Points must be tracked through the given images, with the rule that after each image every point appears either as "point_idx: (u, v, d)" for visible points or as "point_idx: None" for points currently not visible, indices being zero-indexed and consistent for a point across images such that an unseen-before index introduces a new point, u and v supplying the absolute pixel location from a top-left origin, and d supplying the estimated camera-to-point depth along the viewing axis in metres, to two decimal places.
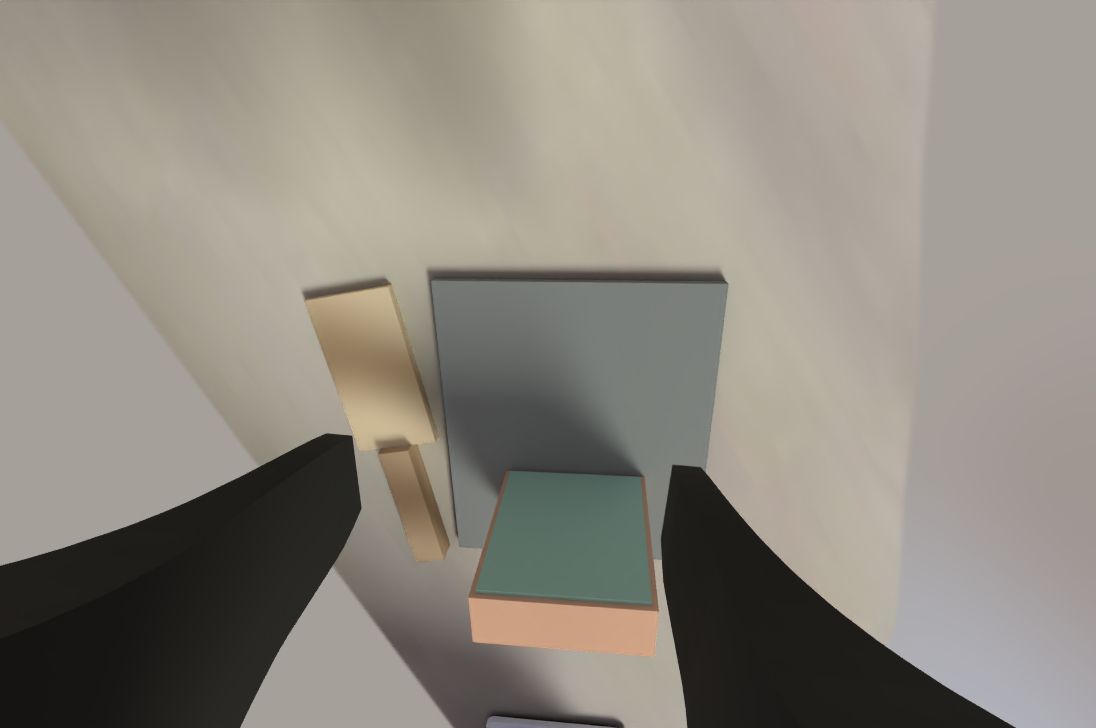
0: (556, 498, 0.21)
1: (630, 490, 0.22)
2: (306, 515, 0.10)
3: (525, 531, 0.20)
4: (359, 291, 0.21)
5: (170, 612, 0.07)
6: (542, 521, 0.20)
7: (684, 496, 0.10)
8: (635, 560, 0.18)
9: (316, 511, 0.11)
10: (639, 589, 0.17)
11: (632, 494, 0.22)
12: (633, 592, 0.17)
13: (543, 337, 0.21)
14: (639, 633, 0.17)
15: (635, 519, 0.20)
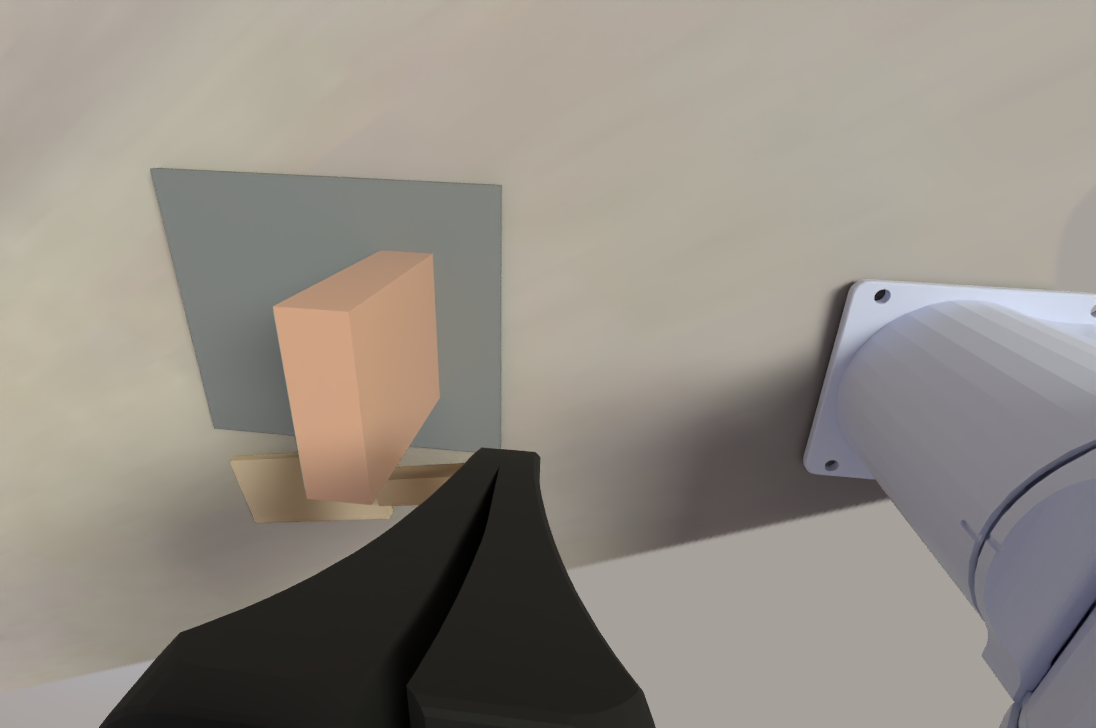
0: None
1: None
2: None
3: None
4: (239, 482, 0.25)
5: (426, 644, 0.07)
6: None
7: None
8: None
9: None
10: None
11: None
12: None
13: (242, 343, 0.22)
14: (313, 329, 0.14)
15: None
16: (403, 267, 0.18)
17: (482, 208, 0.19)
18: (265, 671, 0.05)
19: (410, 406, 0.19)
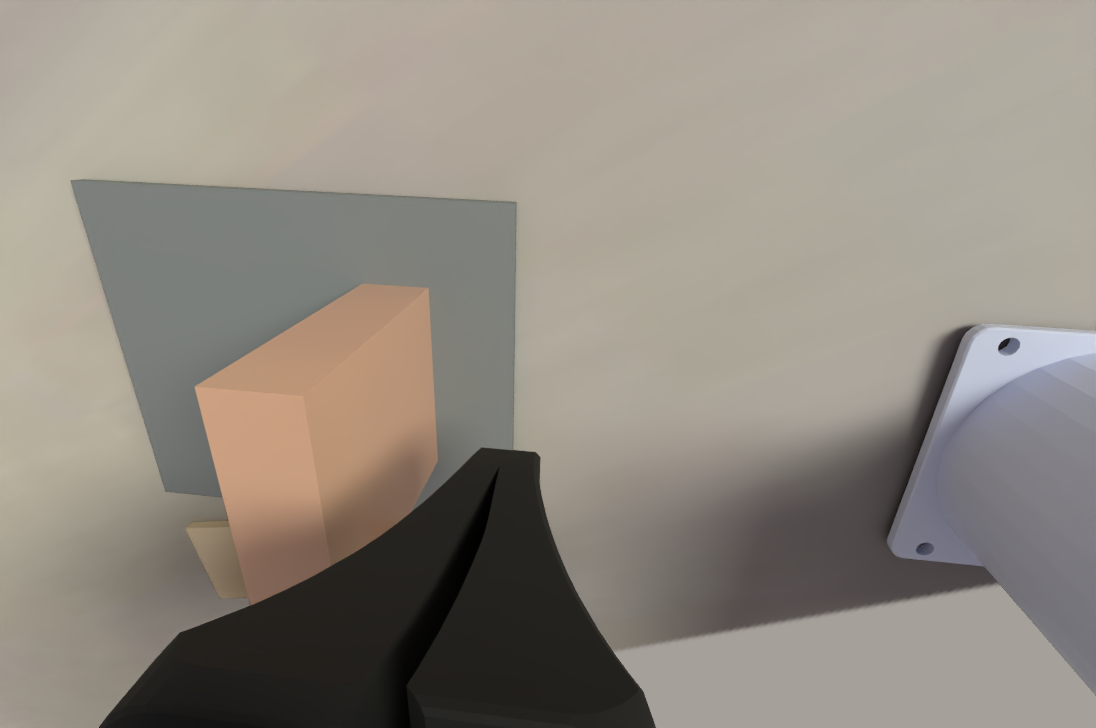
0: None
1: None
2: None
3: None
4: (199, 551, 0.21)
5: (425, 644, 0.07)
6: None
7: None
8: None
9: None
10: None
11: None
12: None
13: (194, 394, 0.18)
14: (254, 418, 0.10)
15: None
16: (389, 311, 0.14)
17: (492, 232, 0.15)
18: (263, 671, 0.05)
19: (398, 488, 0.14)
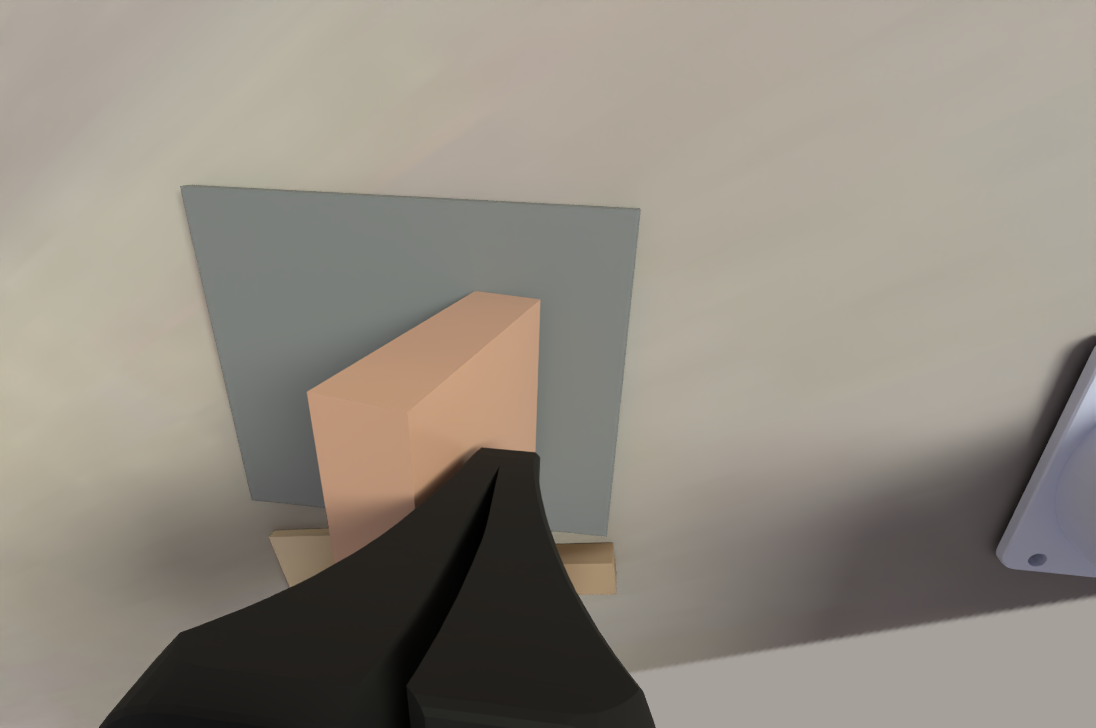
0: None
1: None
2: None
3: None
4: (280, 560, 0.21)
5: (425, 644, 0.07)
6: None
7: (497, 478, 0.10)
8: None
9: None
10: None
11: None
12: None
13: (291, 402, 0.18)
14: (359, 428, 0.09)
15: None
16: (499, 322, 0.13)
17: (614, 239, 0.14)
18: (263, 671, 0.05)
19: None
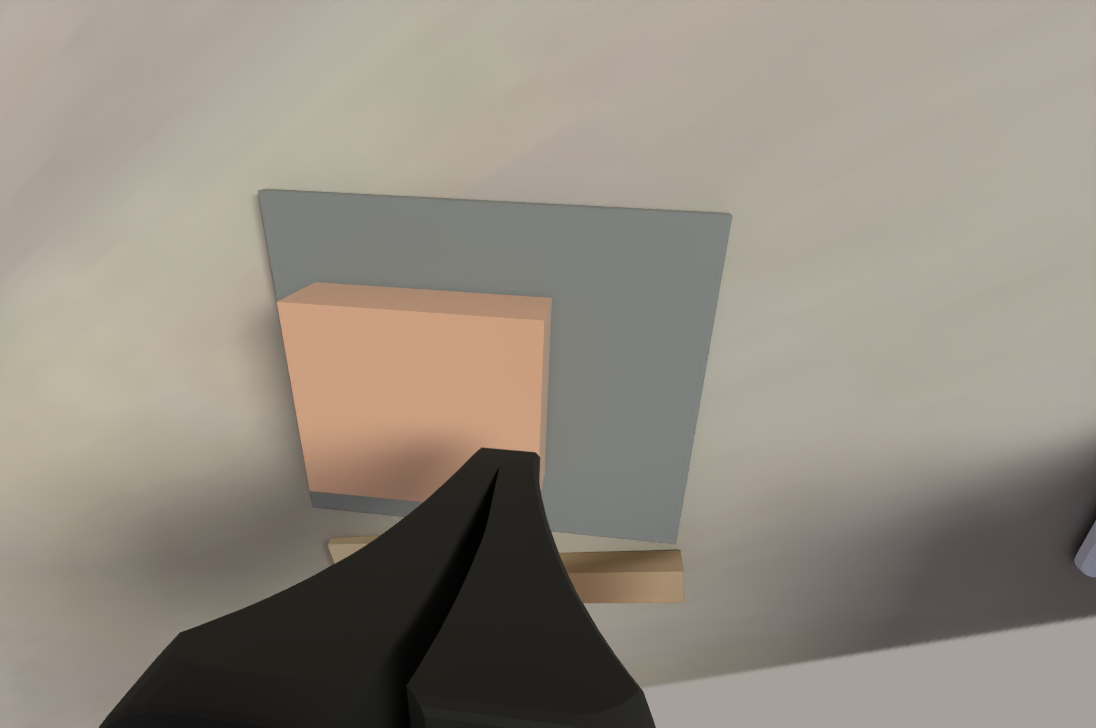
0: None
1: None
2: None
3: None
4: None
5: (425, 644, 0.07)
6: None
7: None
8: None
9: None
10: None
11: None
12: None
13: None
14: None
15: None
16: (457, 310, 0.14)
17: (703, 244, 0.14)
18: (264, 669, 0.05)
19: (422, 463, 0.15)
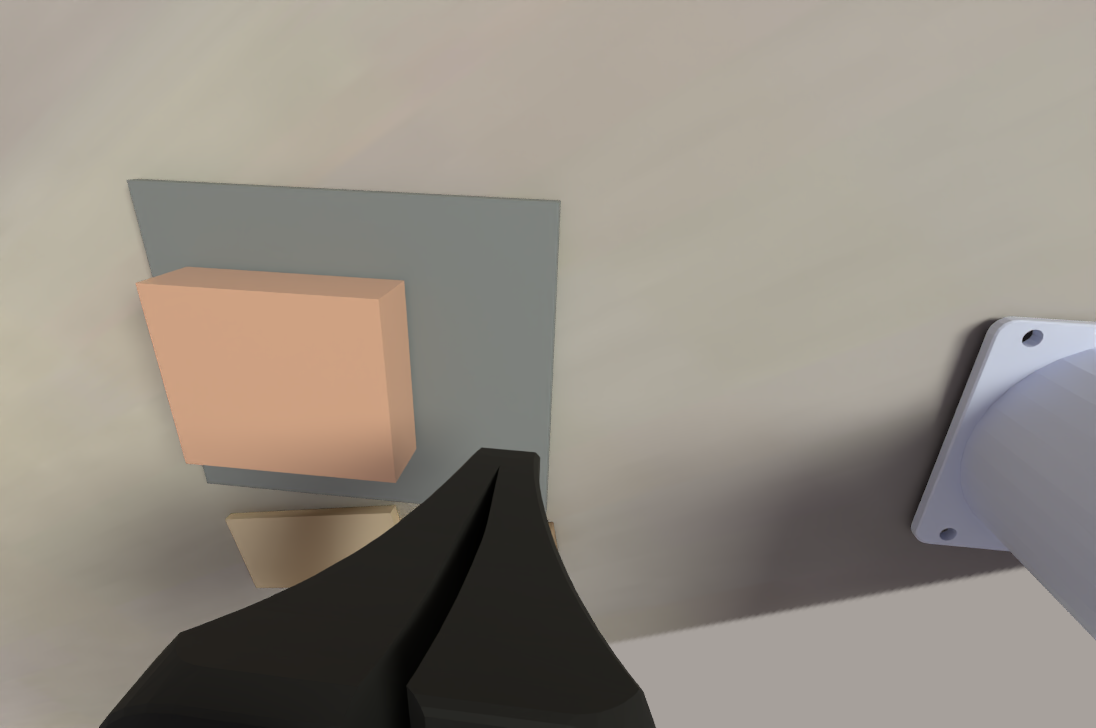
0: None
1: None
2: (485, 533, 0.10)
3: None
4: (237, 542, 0.22)
5: (425, 644, 0.07)
6: None
7: None
8: None
9: None
10: None
11: None
12: None
13: None
14: None
15: None
16: (302, 291, 0.15)
17: (537, 229, 0.15)
18: (264, 671, 0.05)
19: (285, 436, 0.17)
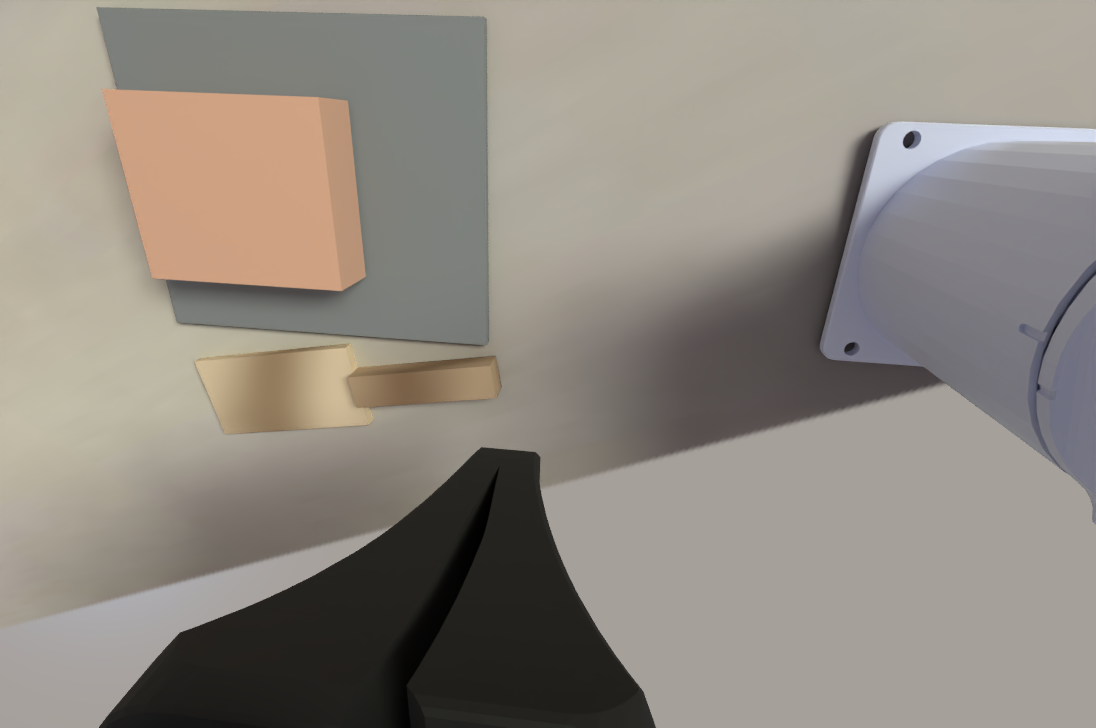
0: None
1: None
2: (485, 533, 0.10)
3: None
4: (206, 386, 0.23)
5: (426, 644, 0.07)
6: None
7: None
8: None
9: None
10: None
11: None
12: None
13: None
14: None
15: None
16: (251, 95, 0.16)
17: (465, 45, 0.17)
18: (265, 671, 0.05)
19: (240, 245, 0.18)
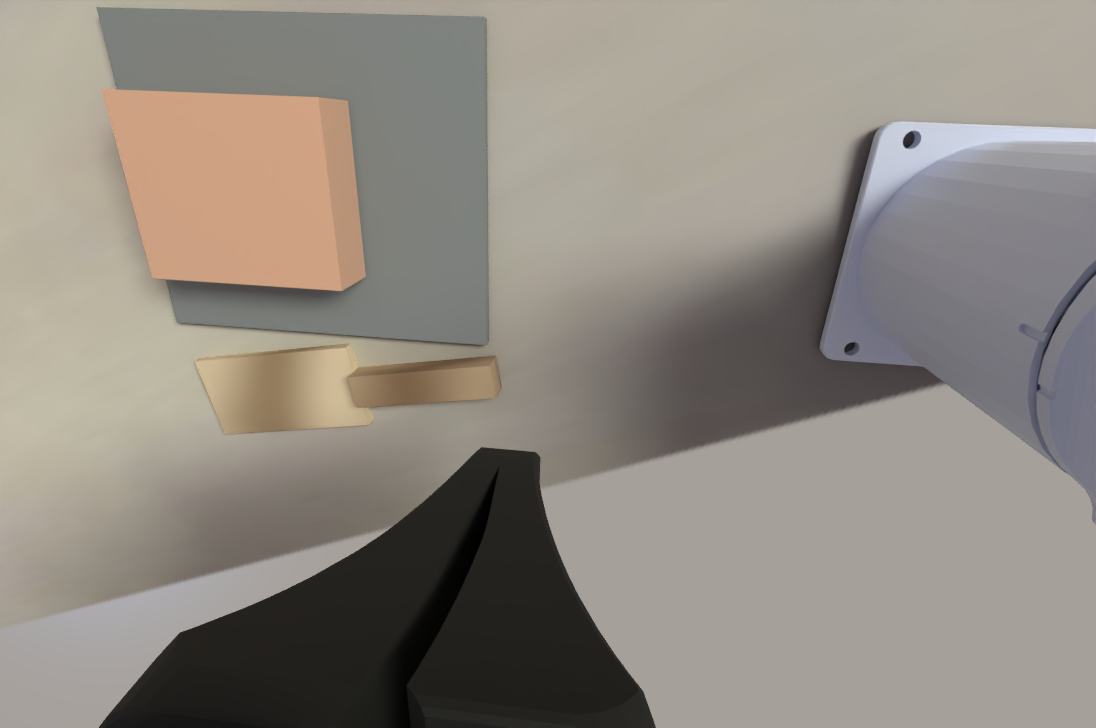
0: None
1: None
2: (485, 533, 0.10)
3: None
4: (206, 386, 0.23)
5: (426, 644, 0.07)
6: None
7: None
8: None
9: None
10: None
11: None
12: None
13: None
14: None
15: None
16: (251, 95, 0.16)
17: (465, 45, 0.17)
18: (265, 671, 0.05)
19: (240, 245, 0.18)
